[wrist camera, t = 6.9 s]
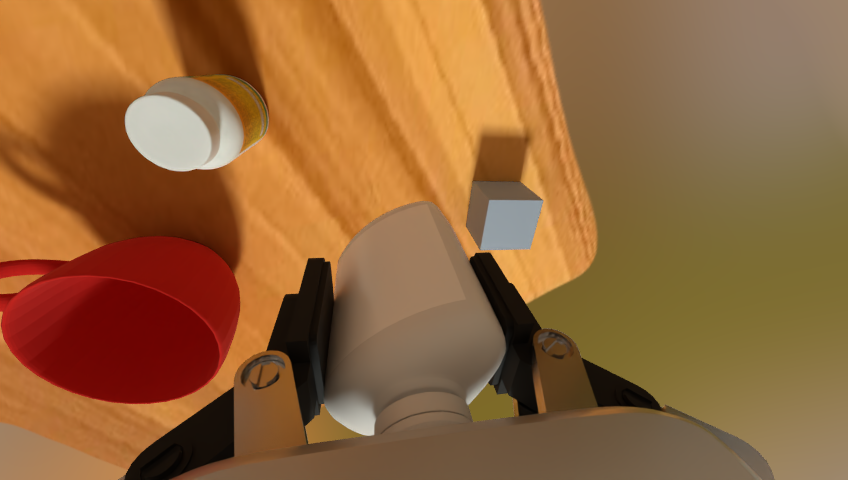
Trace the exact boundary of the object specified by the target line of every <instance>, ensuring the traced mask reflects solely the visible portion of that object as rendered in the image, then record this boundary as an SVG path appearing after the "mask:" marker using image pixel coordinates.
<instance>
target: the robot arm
mask: <svg viewBox="0 0 848 480" xmlns="http://www.w3.org/2000/svg"><path fill="white" fill-rule="evenodd" d="M470 264H471V266H472V268H473V270H474V272H475V274H476V276H477V278H478V280H479V282H480V284H481V286H482V288H483V290H484V292H485V294H486V296H487V298H488V300H489V302H490V304H491V306H492V308H493V311H494V313H495V315H496V317H497V319H498V321H499V323H500V325H501V328H502V330H503V333H504V336H505V341H506V352H505V355H504V357H503V360H502V362H501V364H500V366H499V368H498V369H497V371H496V372H495V374H494V375H493V376H492V378H491V379H490V381H489V382H488V383H489V384H490V385H494V388H495V390H496V393H497V394H504V393H508V395H509V396H511V397H513V408H514V417H509V418H501V419H493V420H485V421H477V422H470V423H462V424H454V425H446V426H439V427H431V428H423V429H416V430H408V431H401V432H393V433H386V434H379V435H371V436H364V437H356V438H349V439H342V440H335V441H327V442H320V443H313V444H308V440H307V434H306V429H305V426H306V425H307V424H308V423H309V422H310V421H311V420H312V419H313V418H314V416H315V415H320V408H321V404H324V384H325V375H326V366H327V357H328V348H329V340H330V331H331V323H332V315H333V306H334V294H333V284H332V274H331V264H330V262H325V259H324V258H309V259H308V261H307V265H306V269H305V272H304V276H303V280H302V283H301V287H300V291H299V294H286V295H285V297H284V299H283V302H282V305H281V308H280V311H279V314H278V317H277V320H276V323H275V326H274V329H273V332H272V335H271V338H270V341H269V344H268V347H267V350H266V351H265V352H261V353H258V354H256V355H253V356H252V357H250V358H249V359H247V360H246V361H245V362H244V363H243V364H242V365H241V366H240V367H239V368H238V370H237V372H236V374H235V378H234V387H233V388H231V389H230V390H228V391H227V392H226V393H224V394H223V395H221V396H220V397H218V398H217V399H216V400H214V401H213V402H211V403H210V404H208V405H207V406H206V407H204V408H203V409H201V410H200V411H198V412H197V413H196V414H194V415H193V416H191V417H190V418H188V419H187V420H186V421H184V422H183V423H181V424H180V425H178V426H177V427H176V428H174V429H173V430H171V431H170V432H168V433H167V434H165V435H164V436H163V437H161V438H160V439H158V440H157V441H155V442H154V443H153V444H151V445H150V446H149V447H148V448H146V449H145V450H144V451H143V452H142V453H141V454H140V455H139V456H138V457H137V458H136V459H135V460H134V462H133V463H132V464H131V466H130V468H129V469H128V471H127V473H126V475H124V476H123V477H121V478H120V479H118V480H774V476H773V474H772V471H771V469H770V467H769V465H768V463H767V461H766V460H765V459H764V458H763V457H762V455H760V453H759V452H758V451H756V450H755V449H754V448H753V447H752V446H750V445H749V444H748V443H746V442H745V441H743V440H741V439H739V438H738V437H735V436H733V435H731V434H729V433H727V432H724V431H722V430H720V429H718V428H716V427H713V426H711V425H709V424H707V423H704V422H702V421H700V420H698V419H696V418H694V417H692V416H689V415H687V414H685V413H683V412H681V411H678V410H676V409H674V408H672V407H669V406H667V405H665V406H664V407H663V408H662V407H660V405H659V404H658V402H657V401H656V400H655V399H654V397H653V396H652V395H650V394H649V393H648V392H647V391H646V390H644V389H642V388H641V387H639V386H637V385H635V384H633V383H631V382H629V381H627V380H625V379H623V378H621V377H619V376H617V375H615V374H613V373H611V372H609V371H607V370H605V369H603V368H601V367H599V366H597V365H595V364H593V363H590V362H589V361H587V360H585V359H583V358H581V355H580V352H579V350H578V347H577V345H576V343H575V342H574V341H573V340H572V339H571V338H570V337H568V336H567V335H566V334H564V333H562V332H560V331H558V330H554V329H541V327H540V325H539V324H538V323H537V321H536V319H535V318H534V316H533V314H532V313H531V311H530V310H529V308H528V307H527V305H526V304H525V302H524V300H523V299H522V297H521V296H520V294H519V293H518V291H517V289H516V288H515V286H514V285H513V284H512V283H509V282H508V280H507V279H506V277H505V275H504V274H503V272H502V271H501V269H500V267H499V266H498V264H497V263H496V261H495V259H494V258H493V256H492V255H491V253H489V252H488V253H476V254H475V255H474V256H473V257H471V258H470Z"/></svg>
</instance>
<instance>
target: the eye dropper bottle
mask: <svg viewBox="0 0 848 480" xmlns="http://www.w3.org/2000/svg"><path fill="white" fill-rule="evenodd" d="M505 352H506V341H505V336H504V333H503V330H502V328H501V325H500V323H499V321H498V319H497V317H496V315H495V313H494V311H493V308H492V306H491V304H490V302H489V300H488V298H487V296H486V294H485V292H484V290H483V288H482V286H481V284H480V282H479V280H478V278H477V276H476V274H475V272H474V270H473V268H472V266H471V264H470V262H469V260H468V258H467V256H466V254H465V252H464V250H463V248H462V246H461V244H460V242H459V240H458V238H457V236H456V234H455V232H454V230H453V228H452V227H451V225H450V224H449V222H448V221H447V219H446V218H445V216H444V215H443V214H442V212H441V211H440V209H439V208H438V207H437V206H436V205H435V204H433V203H432V202H427V201H420V202H415V203H411V204H407V205H404V206H401V207H398V208H396V209H393V210H391V211H389V212H387V213H385V214H383V215H381V216H380V217H378V218H376V219H375V220H373V221H372V222H370V223H369V224H368V225H366V226H365V227H364V228H363V229H362V230H361V231H360V232H359V233H358V234H357V235H356V236H355V237H354V238H353V239H352V240H351V241H350V243H349V244H348V245H347V247H346V248H345V250H344V251H343V253H342V255H341V257H340V258H339V261H338V266H337V274H336V282H335V290H334V306H333V315H332V323H331V331H330V340H329V348H328V357H327V366H326V375H325V384H324V404H325V407H326V408H327V410H328V412H329V413H330V414H331V416H332V417H333V418H334V419H335V420H337V421H338V422H340V423H341V424H343V425H344V426H346V427H347V428H349V429H351V430H353V431H355V432H357V433H360V434H363V435H367V436H371V435H379V434H386V433H393V432H401V431H408V430H416V429H423V428H431V427H439V426H446V425H454V424H462V423H470V422H473V420H472V417H471V414H470V410H469V407H468V404H469V403H470V402H471V401H472V400H473V399H474V398H475V397H476V396H477V395H478V394H479V393H480V391H481V390H482V389H483V388H484V387H485V386H486V384H487V383H488V382H489V381H490V379H491V378H492V376H493V375H494V374H495V372H496V371H497V369H498V368H499V366H500V364H501V362H502V360H503V357H504V355H505Z"/></svg>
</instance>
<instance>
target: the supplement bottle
mask: <svg viewBox="0 0 848 480" xmlns="http://www.w3.org/2000/svg"><path fill="white" fill-rule="evenodd" d="M268 123H269V116H268V110H267V107H266V104H265V102H264V100H263V98H262V97H261V95H260V94H259V93H258V92H257V90H256V89H255V88H254V87H252V86H251V85H250V84H249V83H247V82H246V81H244V80H242V79H240V78H237V77H234V76H230V75H224V74H215V75H200V76H186V77H173V78H168V79H165V80H162V81H160V82H158V83H156V84H154V85H153V86H152V87H151V88H150V89H149V90H148V91H147V93H146V94H145V96H142V97H140V98H138V99H136V100H135V101H133V102H132V103H131V104H130V106H129V107H128V109H127V111H126V114H125V128H126V132H127V135H128V137H129V139H130V141H131V142H132V144H133V145H134V146H135V148H136V149H137V150H138V151H139V152H140V153H141V154H142V155H143V156H144V157H145V158H147V159H148V160H149V161H151V162H153V163H154V164H156V165H158V166H160V167H163V168H166V169H169V170H173V171H190V170H194V169H215V168H219V167H222V166H224V165H227V164H228V163H230V162H231V161H233V160H234V159H236V158H237V157H238V156H240V155H241V154H242V153H244V152H245V151H247V150H248V149H250V148H251V147H252V146H254V145H255V144H256V143H258V142H259V141H260V140H261V139H262V138H263V137H264V135H265V134H266V132H267V129H268Z"/></svg>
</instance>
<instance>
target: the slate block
mask: <svg viewBox="0 0 848 480" xmlns="http://www.w3.org/2000/svg"><path fill="white" fill-rule="evenodd" d="M542 204H543V200H542V199H541V198H540V197H538V196H537V195H536V194H535V193H533V192H532V191H531V190H530V189H528V188H527V187H526V186H525V185H523V184H522V183H521V182H501V181H473V183H472V190H471V196H470V203H469V210H468V216H467V223H466V227H467V229H468V230H469V232H470V234H471V235H472V237H473V239H474V241H475V242H476V244H477V246H478V247H479V249H480V250H512V249H530V248H531V244H532V240H533V237H534V233H535V229H536V226H537V222H538V218H539V215H540V211H541V207H542Z"/></svg>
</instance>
